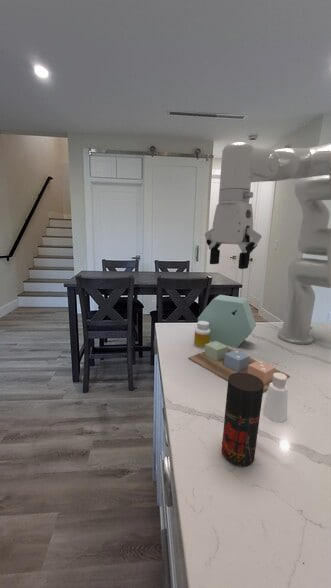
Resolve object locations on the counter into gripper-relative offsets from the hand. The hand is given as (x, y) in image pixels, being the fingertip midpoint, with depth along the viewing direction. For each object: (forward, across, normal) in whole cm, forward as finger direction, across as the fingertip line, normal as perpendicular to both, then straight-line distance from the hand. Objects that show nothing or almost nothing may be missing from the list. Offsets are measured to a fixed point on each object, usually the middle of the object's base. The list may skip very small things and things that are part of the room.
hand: (227, 266), depth 71 cm
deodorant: (+31, -22, +20) cm, 43 cm away
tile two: (+30, -3, -4) cm, 30 cm away
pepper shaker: (+31, -21, +6) cm, 38 cm away
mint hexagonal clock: (+32, +12, -17) cm, 38 cm away
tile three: (+30, -11, -4) cm, 32 cm away
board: (+31, -3, -4) cm, 32 cm away
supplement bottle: (+31, +14, -7) cm, 35 cm away
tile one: (+30, +5, -4) cm, 30 cm away
